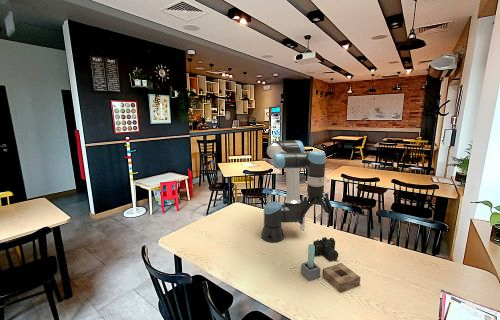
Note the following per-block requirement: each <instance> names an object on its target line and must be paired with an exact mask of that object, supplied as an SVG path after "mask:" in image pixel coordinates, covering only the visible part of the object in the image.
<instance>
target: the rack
mask: <svg viewBox="0 0 500 320" xmlns="http://www.w3.org/2000/svg"><path fill="white" fill-rule="evenodd" d="M321 274H322V278H323V279H325V281H327V283H329V284H330V285H331V286H332V287H333V288H334V289H335V290H337V291H338V292H339V294H341V293H343V292H346V291H349V290H351V289H353V288H357V287H359V286H360V285H361V276H360V275H358V274H357V273H356V272H354V271H353V270H352V269H350V268H349V267H348V266H346V265H345V264H343V262H340V263H337V264H333V265H330V266H327V267H324V268H322V273H321Z"/></svg>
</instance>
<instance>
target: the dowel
mask: <svg viewBox="0 0 500 320" xmlns="http://www.w3.org/2000/svg"><path fill="white" fill-rule="evenodd" d="M307 248H308V249H307V262H308V269H309V270H311V269H314V263H315V256H314V253H315V246H314V245H313V243H312V244H310V243H309V244H308V247H307Z"/></svg>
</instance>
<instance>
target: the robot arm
mask: <svg viewBox="0 0 500 320" xmlns="http://www.w3.org/2000/svg"><path fill="white" fill-rule="evenodd" d="M266 153H267V156H268V157H269V158H271V159H272V166H273V168H274V169H281V170H282V169H285V170H286V172H285V173H286V175H285V177H286V178H285V179H286V180H285V181H286V182H285V183H286V199H285V200H284V204H283V203H282V202H280V201H270V202H267V203H266V204H265V205H264V209H263V227H262V230H261V232H260V233H261V234H260V235H261V236H260V237H261V239H262V240H263V241H265V242H266V243H279V242H282V241H283V240H284V238H285V235H284V234H285V233H284V229H283V227H282V224H284V223H285V224H286V223H295V224H296V223H299V230H301V231H302V232H305V229H306V228H305V227H306V226H305V224H306V223H305V222H306V218H305V217H306V214H308V212H309V210H310V208H311V207H312V206H314V205H320V206H321V208H322V209H323V211H322V221H321V223H322V225H324V227H325V226H328V220H329V214H331V212H332V211H333V210H334V209H333V207H332V204H331V200H330V199H329V193H328V192H325V174H326V162H327V157H326V153H325V151H319V150H312V151H305V147H304V143H303V142H302V141H301V140H295V139H294V140H275V141H273V142H271V143H269V145H268V146H267V148H266ZM300 169H307V182H306V183H307V188H306V192H307V195H302V196H301V195H300V193H301V192H300V191H301V189H300V188H301V187H300V186H301V185H300ZM300 196H301V197H300Z"/></svg>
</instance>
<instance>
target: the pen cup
mask: <svg viewBox="0 0 500 320" xmlns="http://www.w3.org/2000/svg"><path fill="white" fill-rule="evenodd" d="M300 274H301V275H302V276H303V277H304V278H305V279H306V280H307V281H308V282H311V281H314V280H317V279H320V278H321V267H320V266H319V265H318V264H316V263H315V262H314V269H311V270H309V269H308V261H306V262H304V263H301V264H300Z"/></svg>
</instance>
